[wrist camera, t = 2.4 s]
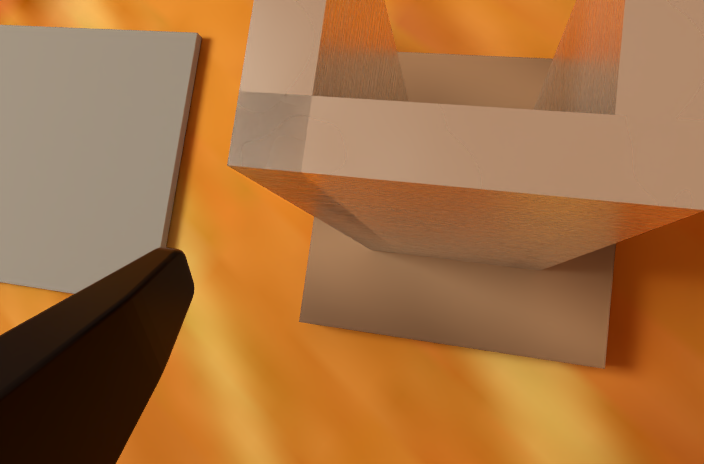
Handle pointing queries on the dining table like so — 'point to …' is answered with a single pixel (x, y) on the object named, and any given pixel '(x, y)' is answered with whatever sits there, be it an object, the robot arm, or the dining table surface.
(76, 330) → the robot arm
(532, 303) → the walnut stand
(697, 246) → the dining table surface
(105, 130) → the slate mat
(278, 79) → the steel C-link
